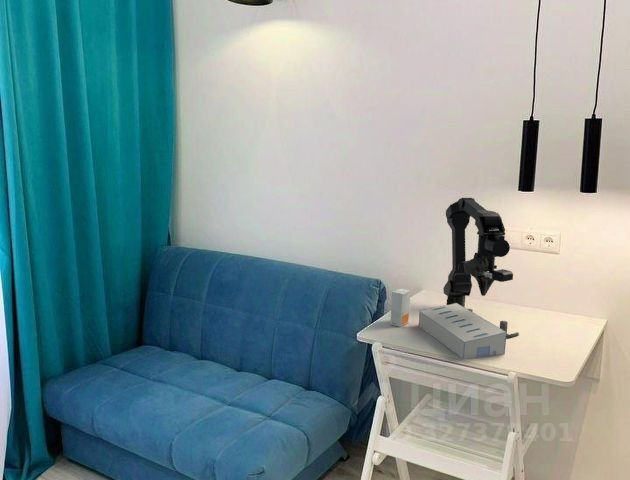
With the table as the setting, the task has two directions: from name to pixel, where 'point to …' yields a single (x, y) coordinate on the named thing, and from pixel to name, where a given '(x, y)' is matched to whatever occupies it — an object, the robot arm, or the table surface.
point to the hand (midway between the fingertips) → (483, 295)
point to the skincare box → (400, 307)
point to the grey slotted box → (463, 331)
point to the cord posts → (504, 327)
